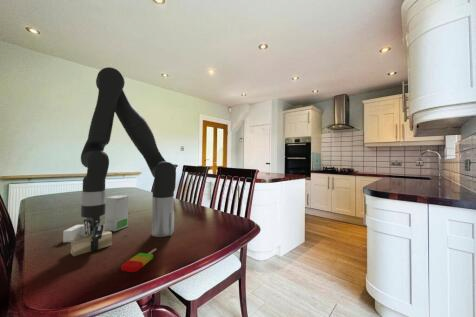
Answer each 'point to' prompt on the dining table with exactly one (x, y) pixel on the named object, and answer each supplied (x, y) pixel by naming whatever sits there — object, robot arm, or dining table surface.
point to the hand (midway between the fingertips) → (92, 248)
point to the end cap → (76, 232)
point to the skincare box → (116, 213)
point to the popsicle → (137, 262)
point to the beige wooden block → (89, 243)
